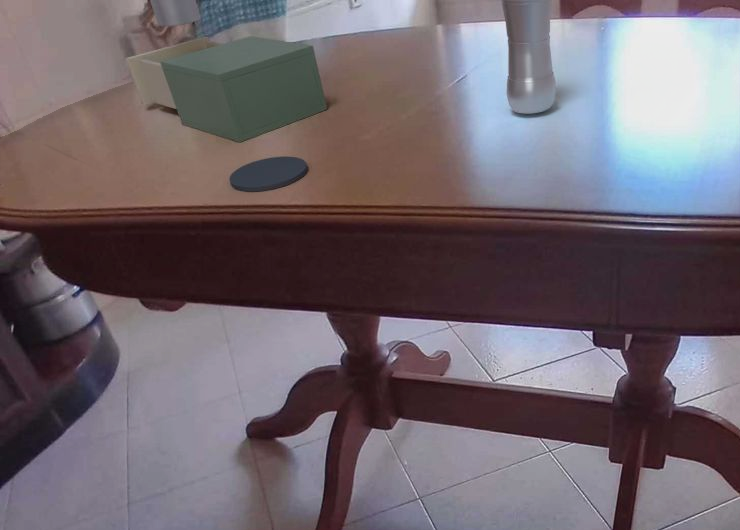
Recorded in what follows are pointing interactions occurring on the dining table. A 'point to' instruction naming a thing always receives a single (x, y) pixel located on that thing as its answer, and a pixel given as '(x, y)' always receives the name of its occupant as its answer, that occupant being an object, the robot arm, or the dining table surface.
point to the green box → (245, 86)
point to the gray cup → (175, 12)
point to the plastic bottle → (529, 55)
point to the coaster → (268, 174)
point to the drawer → (160, 70)
